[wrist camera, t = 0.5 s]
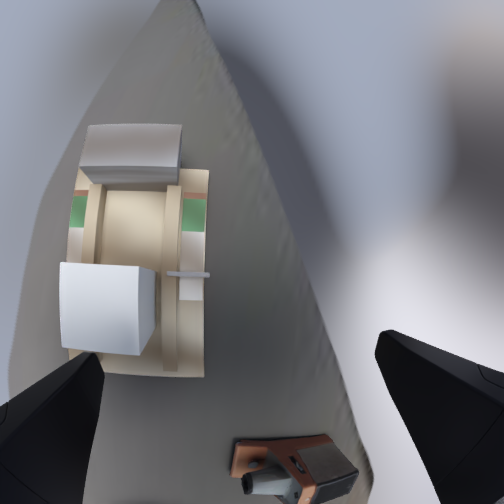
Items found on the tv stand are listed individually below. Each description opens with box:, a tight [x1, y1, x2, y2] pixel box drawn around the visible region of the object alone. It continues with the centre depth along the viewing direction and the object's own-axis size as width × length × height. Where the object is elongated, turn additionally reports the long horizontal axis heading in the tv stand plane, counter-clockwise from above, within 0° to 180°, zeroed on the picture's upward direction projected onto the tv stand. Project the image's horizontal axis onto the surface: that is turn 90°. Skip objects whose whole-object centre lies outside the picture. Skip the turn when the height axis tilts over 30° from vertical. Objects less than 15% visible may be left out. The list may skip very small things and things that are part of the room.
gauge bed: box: [66, 124, 209, 377], centre depth 17 cm, size 17×11×6 cm, turn 179°
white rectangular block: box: [60, 262, 210, 356], centre depth 15 cm, size 4×8×8 cm, turn 89°
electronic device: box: [229, 435, 359, 504], centre depth 17 cm, size 4×10×8 cm, turn 81°
